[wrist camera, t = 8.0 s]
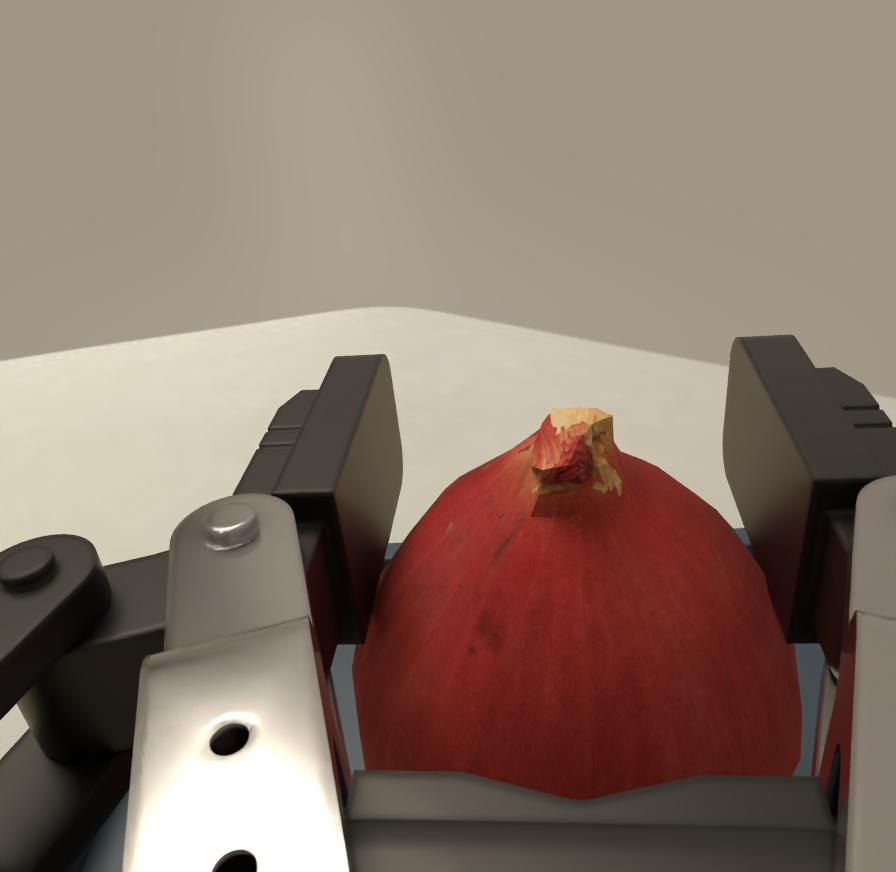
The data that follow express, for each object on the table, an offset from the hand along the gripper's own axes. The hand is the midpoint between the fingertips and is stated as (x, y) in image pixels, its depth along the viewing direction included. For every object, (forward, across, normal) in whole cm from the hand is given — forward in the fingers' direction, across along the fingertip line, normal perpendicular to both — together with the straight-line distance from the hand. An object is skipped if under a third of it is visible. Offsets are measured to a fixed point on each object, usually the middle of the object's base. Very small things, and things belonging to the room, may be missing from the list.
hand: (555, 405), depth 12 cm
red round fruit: (-3, 0, +7) cm, 7 cm away
